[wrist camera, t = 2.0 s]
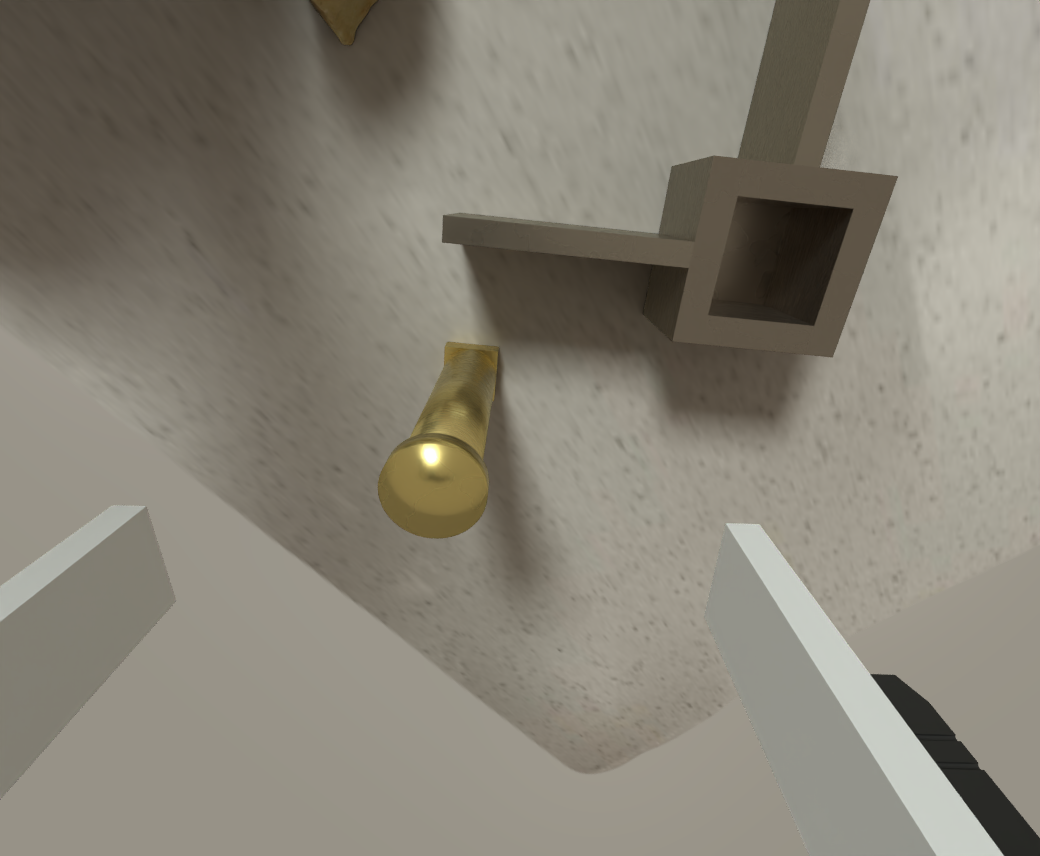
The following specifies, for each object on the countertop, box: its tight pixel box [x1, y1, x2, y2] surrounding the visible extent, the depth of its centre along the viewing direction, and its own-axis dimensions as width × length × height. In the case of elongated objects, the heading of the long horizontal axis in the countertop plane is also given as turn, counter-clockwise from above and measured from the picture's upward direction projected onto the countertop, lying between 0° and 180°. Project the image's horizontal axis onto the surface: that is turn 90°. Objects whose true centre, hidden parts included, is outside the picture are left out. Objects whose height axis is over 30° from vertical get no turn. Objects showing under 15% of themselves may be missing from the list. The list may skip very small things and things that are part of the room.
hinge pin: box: [378, 342, 499, 538], centre depth 27 cm, size 4×4×16 cm
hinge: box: [442, 0, 898, 357], centre depth 25 cm, size 20×18×7 cm
